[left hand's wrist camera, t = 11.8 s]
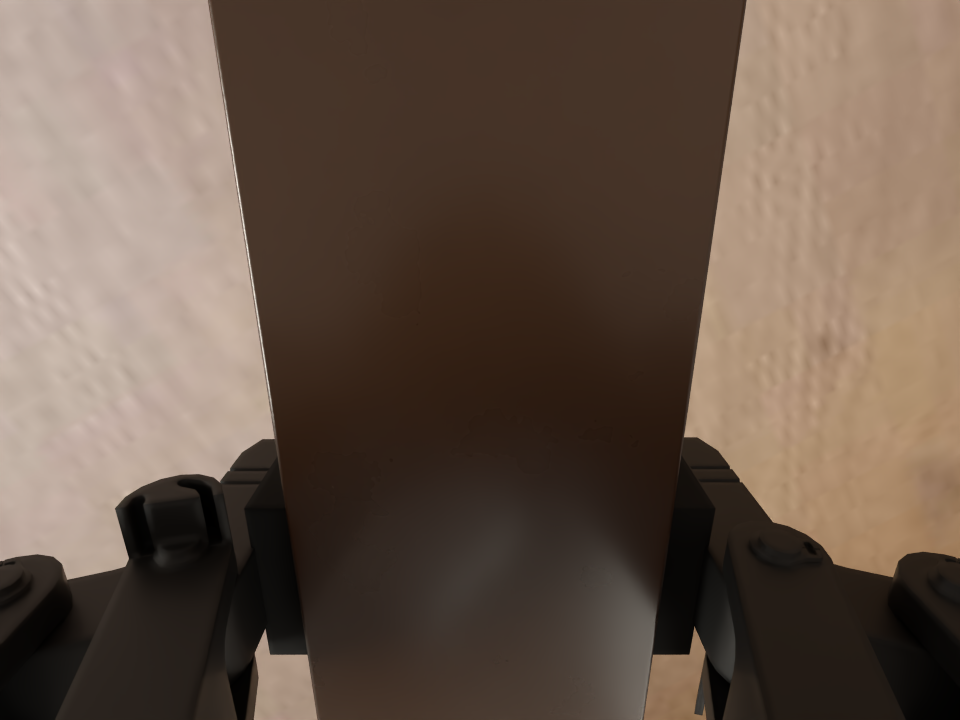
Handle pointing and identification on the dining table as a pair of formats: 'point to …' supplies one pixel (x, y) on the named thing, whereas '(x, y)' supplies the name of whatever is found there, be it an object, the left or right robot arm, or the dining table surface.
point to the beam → (478, 330)
